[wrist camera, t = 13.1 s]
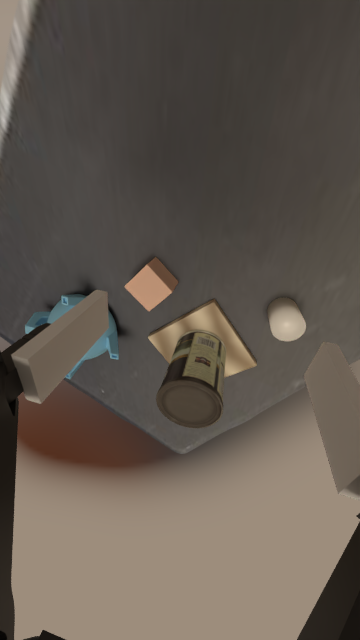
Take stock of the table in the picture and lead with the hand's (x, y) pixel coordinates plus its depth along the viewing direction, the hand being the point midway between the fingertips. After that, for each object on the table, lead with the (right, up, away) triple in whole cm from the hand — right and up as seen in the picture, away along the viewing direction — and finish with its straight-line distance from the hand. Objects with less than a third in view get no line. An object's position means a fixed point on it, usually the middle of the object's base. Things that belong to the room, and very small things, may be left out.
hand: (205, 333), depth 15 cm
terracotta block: (-6, +8, +30) cm, 31 cm away
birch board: (+3, -5, +35) cm, 35 cm away
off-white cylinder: (+16, +3, +27) cm, 32 cm away
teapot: (-21, +1, +38) cm, 43 cm away
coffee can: (+3, -5, +34) cm, 34 cm away
